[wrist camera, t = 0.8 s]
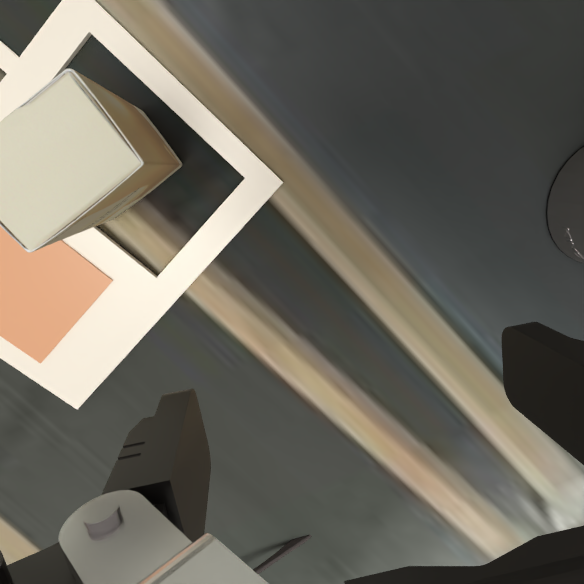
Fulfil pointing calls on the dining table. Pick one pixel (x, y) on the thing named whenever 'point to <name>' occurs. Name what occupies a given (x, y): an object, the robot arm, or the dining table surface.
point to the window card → (93, 242)
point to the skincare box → (75, 161)
